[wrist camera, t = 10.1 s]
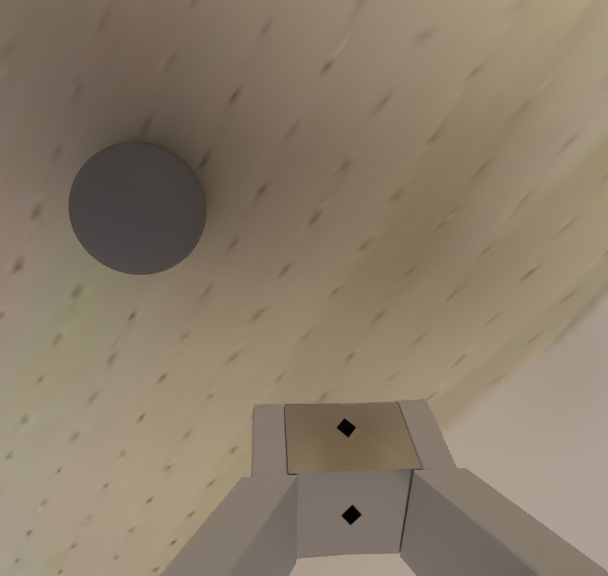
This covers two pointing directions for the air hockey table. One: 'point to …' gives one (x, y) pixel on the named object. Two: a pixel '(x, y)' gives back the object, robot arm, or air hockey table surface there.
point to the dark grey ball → (137, 208)
